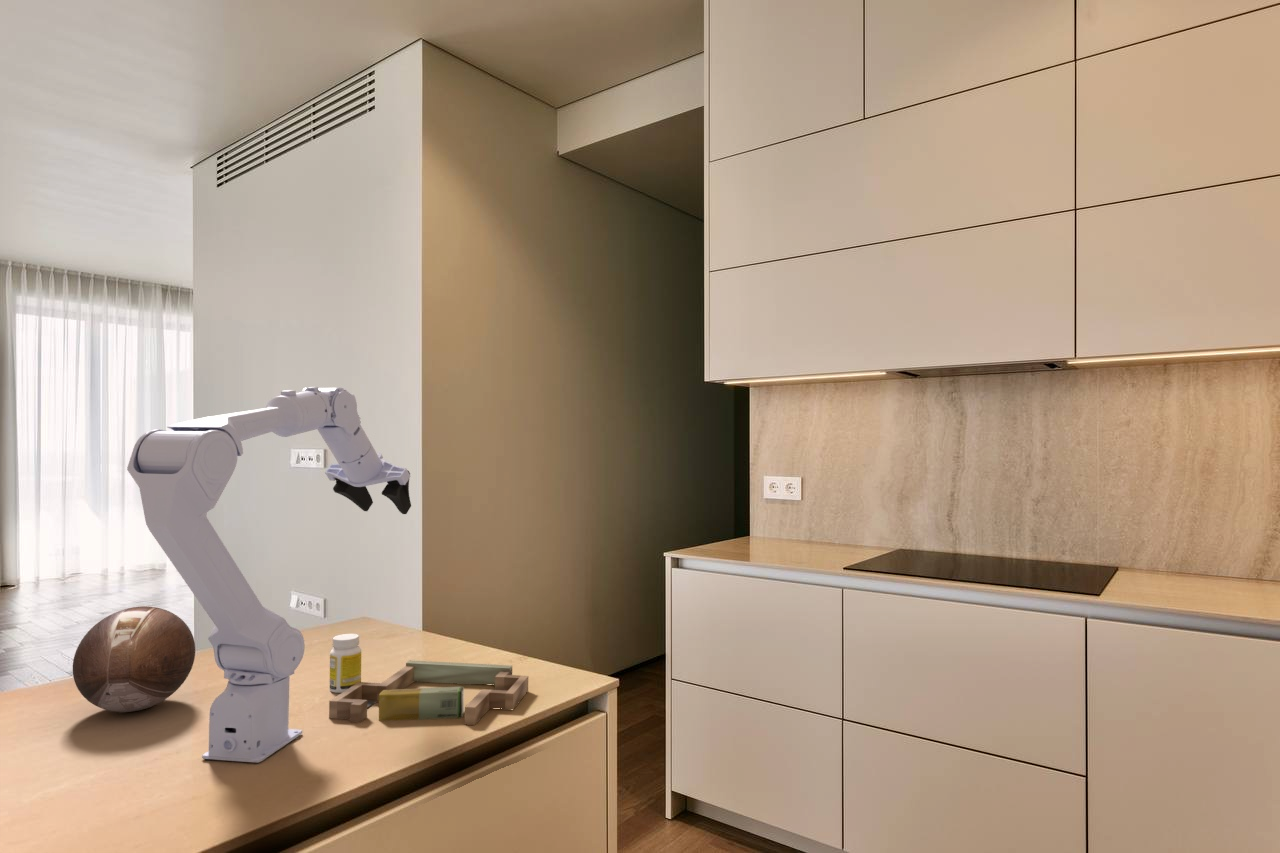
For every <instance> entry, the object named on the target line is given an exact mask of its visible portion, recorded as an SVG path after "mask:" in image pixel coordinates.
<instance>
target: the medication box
mask: <svg viewBox="0 0 1280 853" xmlns="http://www.w3.org/2000/svg"><path fill="white" fill-rule="evenodd" d="M464 687H465V686H462V685H461V686H447V687H446V686H444V687H443V686H441V687H423V688H422V687H421V688H417V687H416V688H405V689H394V690H383V691H382V692H381V693H380V694H379V702H378V721H379V722H380V721H382V722H384V721H385V722H386V721H387V722H388V721H409V720H410V721H411V720H412V721H413V720H438V719H441V720H442V719H460V718H459V717H462V718H463V716H464V715H465V706H464V703H465V700H464V699H465V698H464V694H465V693H464V692H465V691H464V690H465V689H464Z"/></svg>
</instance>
